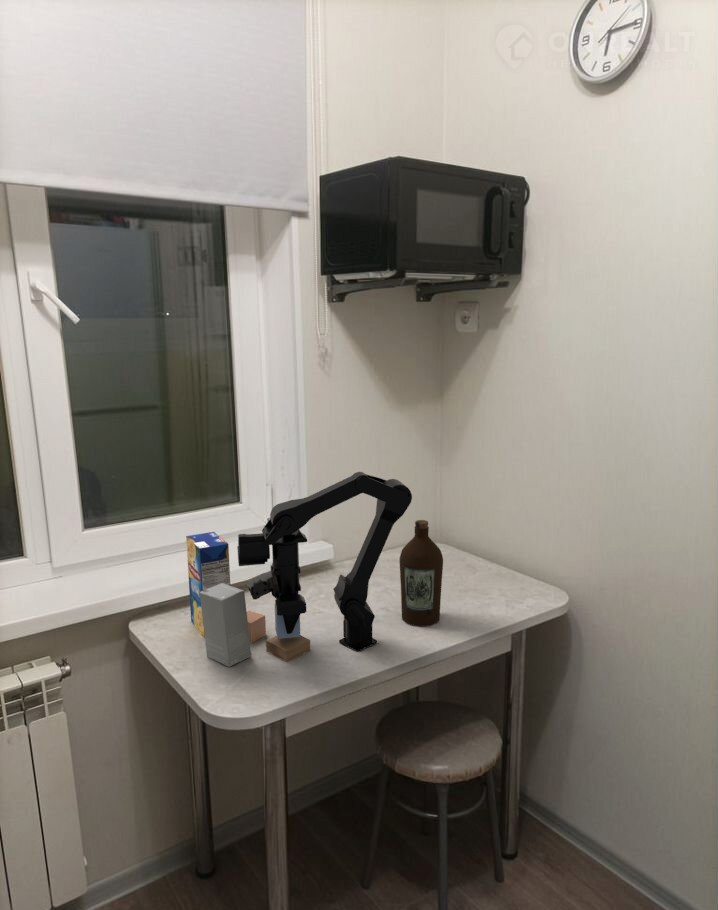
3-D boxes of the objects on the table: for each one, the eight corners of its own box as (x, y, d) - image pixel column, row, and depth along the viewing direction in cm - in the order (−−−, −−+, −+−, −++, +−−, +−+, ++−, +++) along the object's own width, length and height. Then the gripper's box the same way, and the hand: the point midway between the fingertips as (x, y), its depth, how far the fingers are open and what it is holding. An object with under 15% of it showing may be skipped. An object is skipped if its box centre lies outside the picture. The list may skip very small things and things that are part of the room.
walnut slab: (310, 652, 153) (310, 639, 153) (286, 663, 149) (285, 650, 148) (290, 642, 158) (290, 630, 158) (266, 652, 153) (265, 640, 153)
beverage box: (204, 638, 160) (199, 548, 155) (191, 621, 169) (186, 536, 165) (232, 631, 163) (228, 543, 159) (217, 615, 172) (213, 531, 168)
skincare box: (252, 657, 150) (249, 589, 147) (225, 669, 145) (222, 599, 142) (228, 645, 156) (225, 580, 153) (202, 657, 151) (198, 589, 148)
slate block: (275, 628, 154) (274, 604, 153) (297, 626, 155) (296, 601, 154) (277, 638, 150) (276, 613, 148) (300, 636, 151) (299, 610, 149)
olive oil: (402, 608, 176) (402, 514, 171) (443, 611, 174) (445, 516, 169) (396, 626, 165) (396, 526, 161) (440, 629, 163) (441, 529, 158)
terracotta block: (265, 635, 161) (265, 615, 161) (251, 643, 157) (250, 623, 156) (249, 630, 164) (249, 610, 163) (235, 638, 160) (234, 618, 159)
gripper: (246, 551, 157) (248, 614, 160) (251, 580, 139) (254, 651, 142) (294, 547, 159) (296, 610, 162) (305, 575, 141) (307, 645, 144)
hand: (287, 628), depth 152 cm, fingers closed on slate block, 5 cm apart
